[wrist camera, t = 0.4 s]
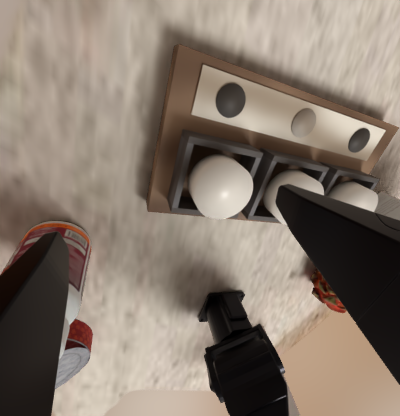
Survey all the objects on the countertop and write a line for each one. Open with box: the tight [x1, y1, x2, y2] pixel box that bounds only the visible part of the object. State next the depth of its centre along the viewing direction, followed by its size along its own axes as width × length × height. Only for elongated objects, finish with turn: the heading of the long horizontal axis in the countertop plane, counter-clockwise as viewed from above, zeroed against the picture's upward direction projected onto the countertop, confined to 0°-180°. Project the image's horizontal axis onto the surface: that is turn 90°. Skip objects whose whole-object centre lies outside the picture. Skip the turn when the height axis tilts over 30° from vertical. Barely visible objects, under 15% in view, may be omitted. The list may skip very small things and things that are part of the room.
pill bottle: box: [1, 221, 91, 359], centre depth 19 cm, size 6×6×11 cm
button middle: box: [263, 169, 324, 225], centre depth 22 cm, size 5×5×2 cm
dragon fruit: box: [311, 269, 347, 313], centre depth 38 cm, size 8×8×12 cm
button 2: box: [188, 154, 253, 219], centre depth 19 cm, size 5×5×2 cm
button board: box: [146, 44, 399, 223], centre depth 23 cm, size 14×26×4 cm, turn 74°
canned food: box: [55, 319, 93, 389], centre depth 28 cm, size 11×10×10 cm
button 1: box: [327, 181, 378, 212], centre depth 25 cm, size 5×5×2 cm
